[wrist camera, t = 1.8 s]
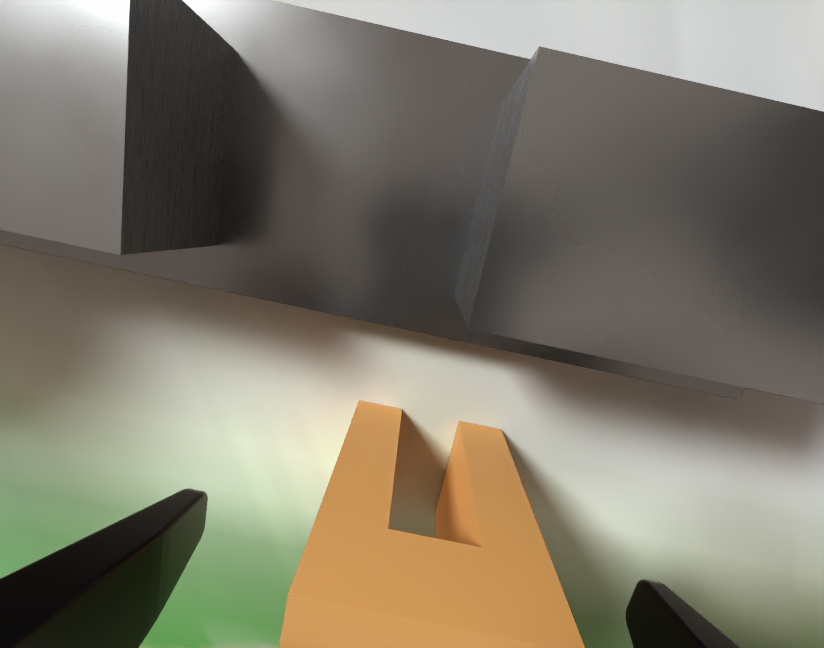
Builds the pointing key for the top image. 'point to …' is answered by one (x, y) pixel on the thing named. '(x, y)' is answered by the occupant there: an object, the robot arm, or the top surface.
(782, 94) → the top surface
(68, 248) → the rail
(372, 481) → the clip
